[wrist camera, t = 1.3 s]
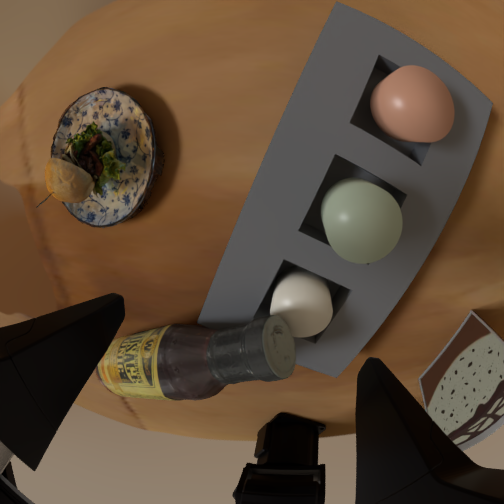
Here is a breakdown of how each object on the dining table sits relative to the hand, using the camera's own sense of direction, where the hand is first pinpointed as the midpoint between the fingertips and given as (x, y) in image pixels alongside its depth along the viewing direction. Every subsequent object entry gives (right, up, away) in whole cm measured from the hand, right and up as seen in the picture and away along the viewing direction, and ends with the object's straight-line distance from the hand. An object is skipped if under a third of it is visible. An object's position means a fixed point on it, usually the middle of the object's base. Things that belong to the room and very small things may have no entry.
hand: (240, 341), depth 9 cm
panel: (+7, +6, +9) cm, 13 cm away
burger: (-12, +11, +11) cm, 20 cm away
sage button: (+6, +5, +6) cm, 10 cm away
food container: (+22, -8, +12) cm, 27 cm away
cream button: (+4, 0, +11) cm, 12 cm away
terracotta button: (+9, +11, +4) cm, 15 cm away
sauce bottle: (-14, -10, +16) cm, 23 cm away
